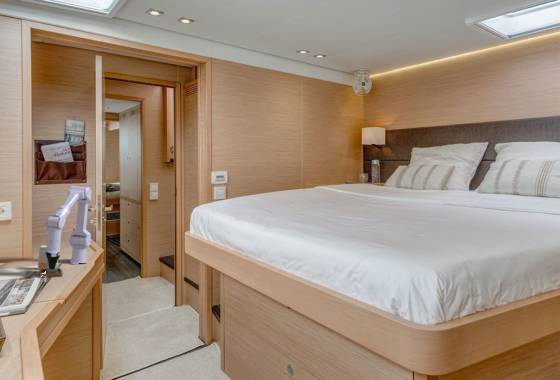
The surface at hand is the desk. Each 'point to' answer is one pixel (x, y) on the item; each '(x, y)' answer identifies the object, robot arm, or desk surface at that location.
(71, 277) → the desk surface
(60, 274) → the tray
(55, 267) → the cup
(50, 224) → the robot arm
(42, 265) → the skincare box
